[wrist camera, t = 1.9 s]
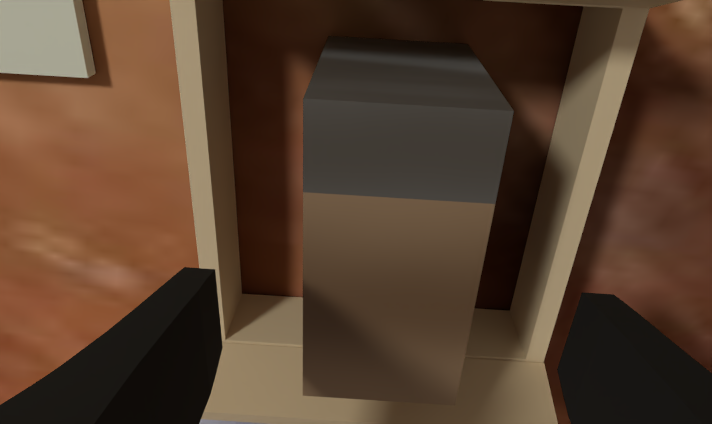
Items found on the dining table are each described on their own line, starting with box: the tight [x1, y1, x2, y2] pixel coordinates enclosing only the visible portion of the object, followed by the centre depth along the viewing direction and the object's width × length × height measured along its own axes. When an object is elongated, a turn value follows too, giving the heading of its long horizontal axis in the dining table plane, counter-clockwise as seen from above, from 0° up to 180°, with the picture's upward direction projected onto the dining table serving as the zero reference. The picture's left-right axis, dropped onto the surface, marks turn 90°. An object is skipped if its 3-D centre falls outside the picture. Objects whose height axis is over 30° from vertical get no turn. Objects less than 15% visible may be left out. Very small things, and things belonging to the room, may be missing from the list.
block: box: [303, 36, 514, 405], centre depth 15 cm, size 8×4×6 cm, turn 177°
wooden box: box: [170, 0, 681, 424], centre depth 15 cm, size 13×11×5 cm
